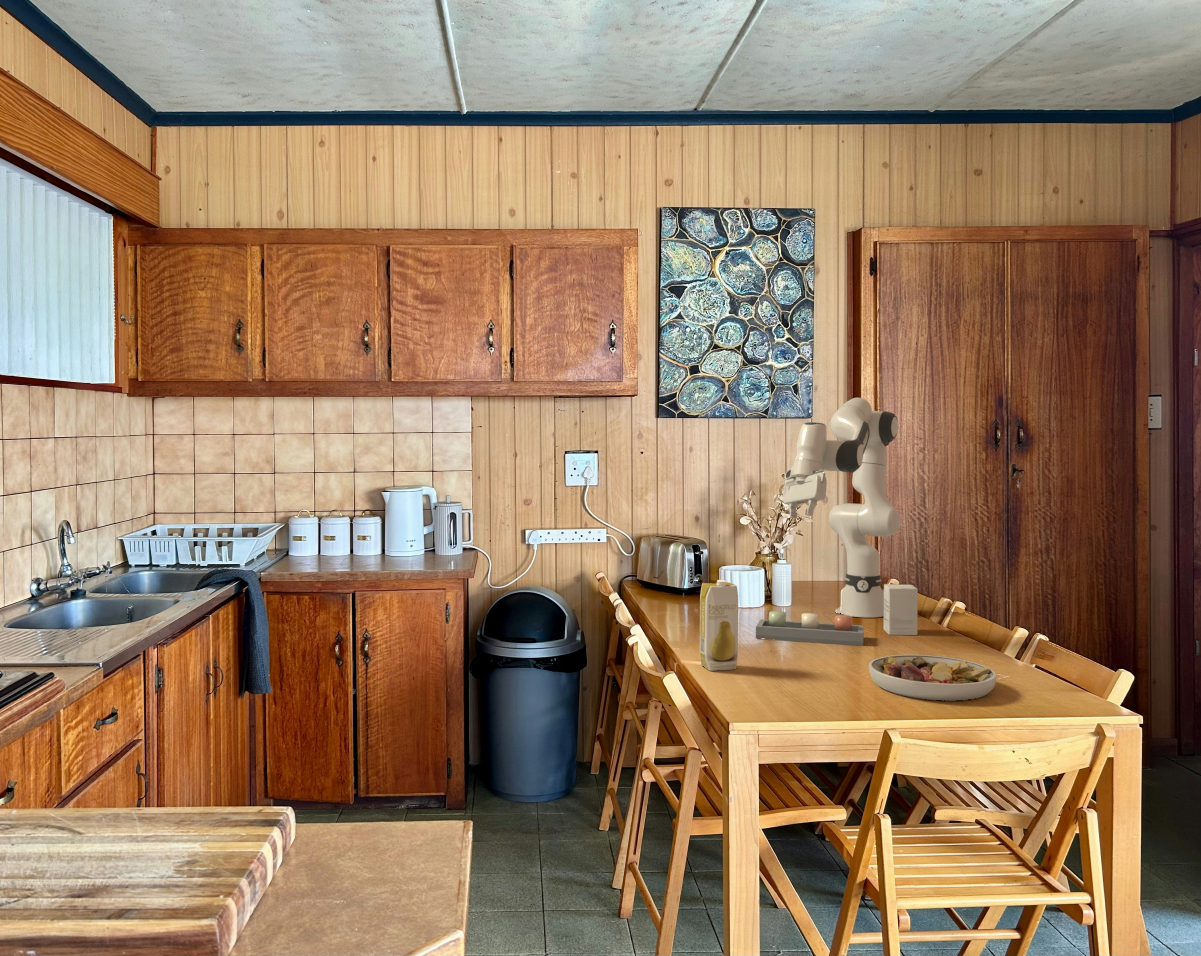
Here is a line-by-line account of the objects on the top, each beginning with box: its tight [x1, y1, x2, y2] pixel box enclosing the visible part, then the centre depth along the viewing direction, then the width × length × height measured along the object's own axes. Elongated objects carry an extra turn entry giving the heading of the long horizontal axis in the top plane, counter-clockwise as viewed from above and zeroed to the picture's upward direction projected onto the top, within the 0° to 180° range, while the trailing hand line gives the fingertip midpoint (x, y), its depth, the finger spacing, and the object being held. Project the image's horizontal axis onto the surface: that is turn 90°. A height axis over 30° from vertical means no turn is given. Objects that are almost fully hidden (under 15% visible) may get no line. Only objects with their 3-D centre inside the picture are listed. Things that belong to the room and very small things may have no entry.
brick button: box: [834, 614, 853, 631], centre depth 288 cm, size 5×5×4 cm
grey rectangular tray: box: [755, 618, 865, 647], centre depth 291 cm, size 12×32×4 cm, turn 74°
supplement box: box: [883, 583, 919, 636], centre depth 300 cm, size 9×9×15 cm
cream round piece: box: [801, 612, 820, 629], centre depth 291 cm, size 5×5×4 cm
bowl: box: [868, 654, 997, 702], centre depth 235 cm, size 30×30×8 cm
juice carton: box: [699, 579, 739, 672], centre depth 252 cm, size 9×8×24 cm
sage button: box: [768, 610, 787, 627], centre depth 294 cm, size 5×5×4 cm
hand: (800, 516), depth 285 cm, fingers open, 8 cm apart
